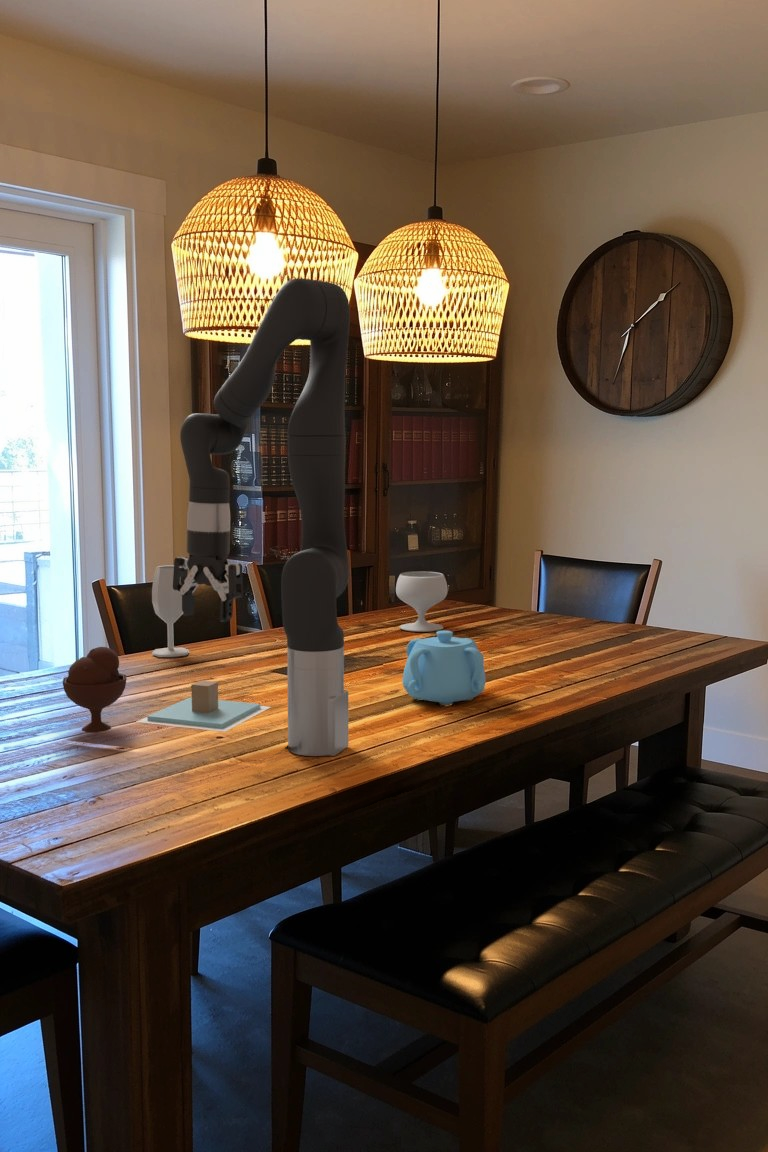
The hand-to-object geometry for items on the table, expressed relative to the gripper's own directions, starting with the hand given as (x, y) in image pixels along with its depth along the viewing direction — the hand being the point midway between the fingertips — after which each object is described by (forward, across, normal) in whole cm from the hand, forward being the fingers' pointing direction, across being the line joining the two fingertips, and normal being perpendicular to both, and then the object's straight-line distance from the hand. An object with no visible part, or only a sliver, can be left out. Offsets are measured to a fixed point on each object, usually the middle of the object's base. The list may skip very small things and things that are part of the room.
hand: (206, 618), depth 187 cm
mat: (+19, +1, -2) cm, 19 cm away
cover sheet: (+18, +2, -2) cm, 19 cm away
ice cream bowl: (+20, +11, +15) cm, 27 cm away
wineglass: (+20, +46, -41) cm, 65 cm away
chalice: (+18, +12, -103) cm, 105 cm away
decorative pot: (+18, -29, -38) cm, 51 cm away
